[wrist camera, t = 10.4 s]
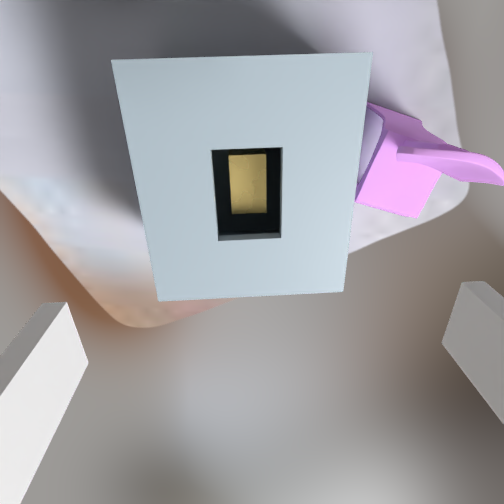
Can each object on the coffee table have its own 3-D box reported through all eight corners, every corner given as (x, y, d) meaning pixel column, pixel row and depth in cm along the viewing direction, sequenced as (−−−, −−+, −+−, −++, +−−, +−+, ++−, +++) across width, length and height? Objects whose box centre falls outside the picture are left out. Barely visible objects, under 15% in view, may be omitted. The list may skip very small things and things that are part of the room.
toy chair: (323, 182, 37) (373, 243, 24) (357, 98, 33) (439, 116, 20) (389, 201, 39) (471, 269, 25) (429, 123, 35) (550, 156, 21)
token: (229, 137, 34) (228, 155, 27) (259, 136, 34) (266, 154, 27) (232, 186, 36) (231, 214, 29) (259, 185, 36) (266, 212, 29)
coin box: (152, 63, 31) (110, 59, 20) (325, 58, 31) (372, 52, 21) (178, 239, 39) (158, 301, 29) (313, 233, 40) (343, 291, 29)
